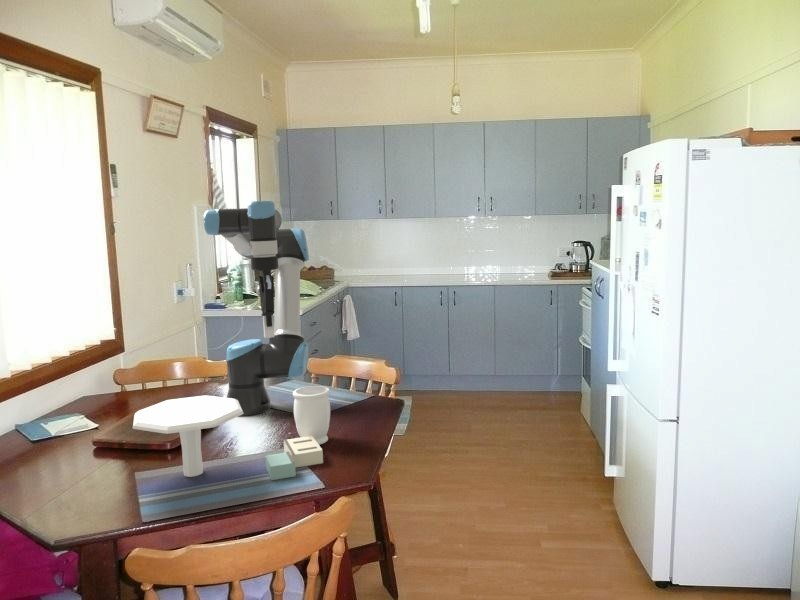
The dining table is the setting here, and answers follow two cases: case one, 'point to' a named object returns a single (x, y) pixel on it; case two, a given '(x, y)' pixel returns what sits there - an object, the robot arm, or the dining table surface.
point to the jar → (312, 412)
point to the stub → (280, 465)
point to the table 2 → (188, 423)
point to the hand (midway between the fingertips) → (269, 337)
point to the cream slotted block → (304, 451)
